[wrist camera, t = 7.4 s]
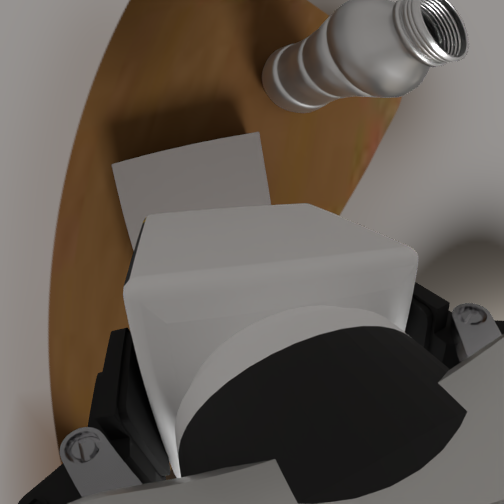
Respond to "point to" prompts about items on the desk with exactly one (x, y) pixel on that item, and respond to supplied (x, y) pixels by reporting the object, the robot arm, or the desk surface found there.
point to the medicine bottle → (285, 348)
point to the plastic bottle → (366, 53)
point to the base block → (192, 179)
